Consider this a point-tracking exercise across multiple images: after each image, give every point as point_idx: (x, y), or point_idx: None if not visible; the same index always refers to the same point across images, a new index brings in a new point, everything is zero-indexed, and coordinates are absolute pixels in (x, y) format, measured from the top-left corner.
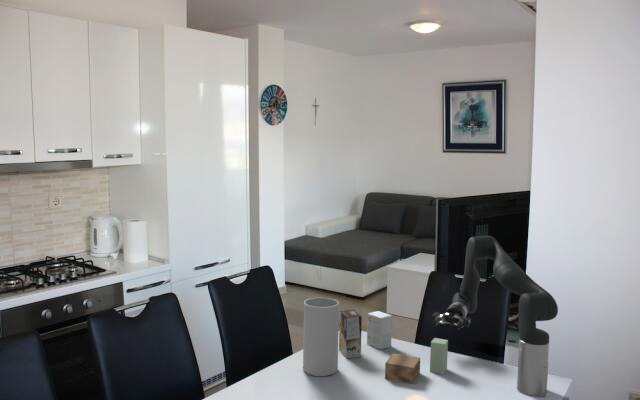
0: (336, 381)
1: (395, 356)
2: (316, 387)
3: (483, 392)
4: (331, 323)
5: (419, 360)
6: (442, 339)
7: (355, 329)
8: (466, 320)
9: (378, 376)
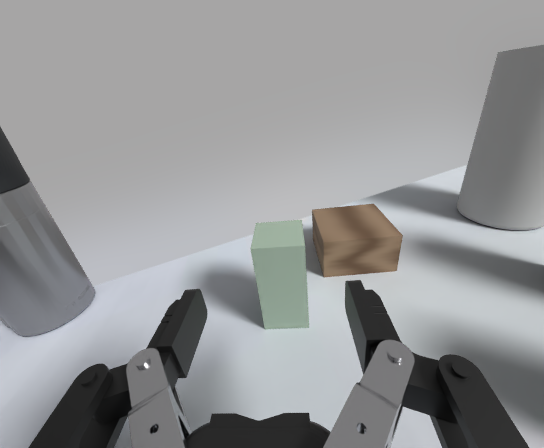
0: (426, 204)
1: (381, 226)
2: (428, 189)
3: (179, 263)
4: (485, 99)
5: (321, 240)
6: (271, 245)
7: None
8: (92, 377)
9: None
